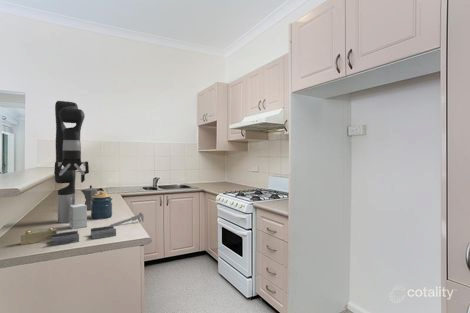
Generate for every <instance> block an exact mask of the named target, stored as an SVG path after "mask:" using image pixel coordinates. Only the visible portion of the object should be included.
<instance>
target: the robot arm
mask: <svg viewBox="0 0 470 313" xmlns="http://www.w3.org/2000/svg"><path fill="white" fill-rule="evenodd" d="M54 105H55V106H54V112H55V113H54V114H55V115H54V116H55V161H54V172H53V174H54V181H55V183H56V184H68V185H67V186H65V187H62V188H58V189H57V223H58V224H61V223H62V224H64V223H65V224H67V223H70V205H76V178H77V177H76V171H78V172H79V173H80V183H84V182H85V181H86V180H85V179H86V178H85V175H86V174H89V173H90V167H89V161H82V144H81V130H82V127H83V126H82V125H83V122H84V121H85V112H84V111H83V110H82V109H79V106H78V104H77V103H76V102H73V101H64V100H56V102H55V104H54ZM65 123H66V124H75V125H74V126H72V127H66V125H65ZM82 165H83V167H84V168H85V170H84V171H83V169H82V168H81V167H82Z"/></svg>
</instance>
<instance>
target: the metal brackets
mask: <svg viewBox="0 0 470 313" xmlns="http://www.w3.org/2000/svg"><path fill="white" fill-rule="evenodd" d="M90 236H91V237H90V238H91V240H96V239H97V240H98V239H102V238H103V239H104V238H110V237H114V236H117V228H116V227H115V226H110V225H106V226H99V227H93V228H90ZM78 242H80V233H79V231H78V229H77V230H71V231H64V232H59V233H58V232H57V233H56V234H52V240H51V246H52V247H53V246H59V245H66V244H72V243H78Z"/></svg>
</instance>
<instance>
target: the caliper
mask: <svg viewBox="0 0 470 313" xmlns="http://www.w3.org/2000/svg"><path fill="white" fill-rule="evenodd" d="M136 220H137V221H138V222H139V223H141V222H144V221H145V218H144V214H143V212H139V213H138V214H136V215H133V216H131V217H129V218H127V219H123V220H120V221H117V222H113V223H110V225H109V226H114V227H116V226H118V225H121V224H122V225H123V224H124V223H129V222H131V221H132V222H134V221H136Z"/></svg>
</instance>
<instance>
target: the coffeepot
mask: <svg viewBox="0 0 470 313" xmlns="http://www.w3.org/2000/svg"><path fill="white" fill-rule="evenodd" d="M100 191H103V192H104V191H105V190H104V189H103V188H102V187H99V188H96V187H95V188H94V187H93V185H89V188H84V189H81V190H80V192H81V193H82V194H83V196H84V199H85V201H84V205H86V206H87V212H88V211H90V212H91V204H92V202H91V200H92V199H93V197H92V196H94V195H95V194H98V192H100ZM104 193H105V192H104Z"/></svg>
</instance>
